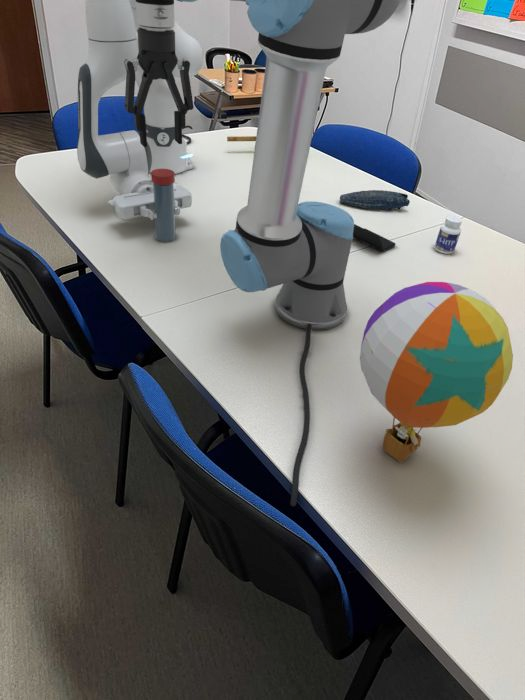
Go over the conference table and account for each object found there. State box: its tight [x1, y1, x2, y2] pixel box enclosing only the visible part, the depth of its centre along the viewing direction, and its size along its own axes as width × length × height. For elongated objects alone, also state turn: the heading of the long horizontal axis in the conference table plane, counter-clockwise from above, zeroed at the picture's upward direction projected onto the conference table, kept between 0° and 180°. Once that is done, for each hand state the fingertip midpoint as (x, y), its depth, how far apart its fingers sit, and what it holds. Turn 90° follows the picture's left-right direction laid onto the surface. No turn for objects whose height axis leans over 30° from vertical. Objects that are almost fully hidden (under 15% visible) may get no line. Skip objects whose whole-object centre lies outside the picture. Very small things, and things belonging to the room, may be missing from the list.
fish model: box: [339, 189, 411, 211], centre depth 158 cm, size 7×21×5 cm, turn 84°
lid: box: [150, 169, 176, 185], centre depth 124 cm, size 6×6×2 cm
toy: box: [359, 281, 514, 463], centre depth 73 cm, size 20×20×30 cm
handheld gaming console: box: [353, 223, 396, 253], centre depth 138 cm, size 12×7×10 cm
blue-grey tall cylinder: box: [153, 183, 176, 243], centre depth 129 cm, size 5×5×16 cm
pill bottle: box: [434, 215, 463, 255], centre depth 137 cm, size 5×5×9 cm
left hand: (166, 214), depth 129 cm, fingers closed on blue-grey tall cylinder, 5 cm apart
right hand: (161, 143), depth 119 cm, fingers open, 8 cm apart
